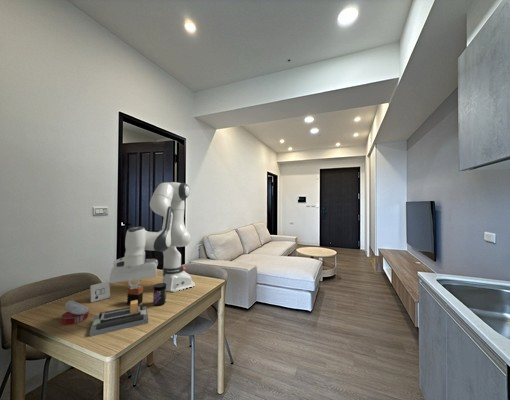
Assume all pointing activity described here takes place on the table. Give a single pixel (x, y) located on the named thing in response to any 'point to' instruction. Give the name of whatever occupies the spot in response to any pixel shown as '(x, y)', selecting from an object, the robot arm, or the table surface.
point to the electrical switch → (100, 291)
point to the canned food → (74, 313)
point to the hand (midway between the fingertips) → (133, 288)
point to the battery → (135, 294)
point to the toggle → (134, 306)
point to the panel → (117, 327)
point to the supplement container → (159, 294)
